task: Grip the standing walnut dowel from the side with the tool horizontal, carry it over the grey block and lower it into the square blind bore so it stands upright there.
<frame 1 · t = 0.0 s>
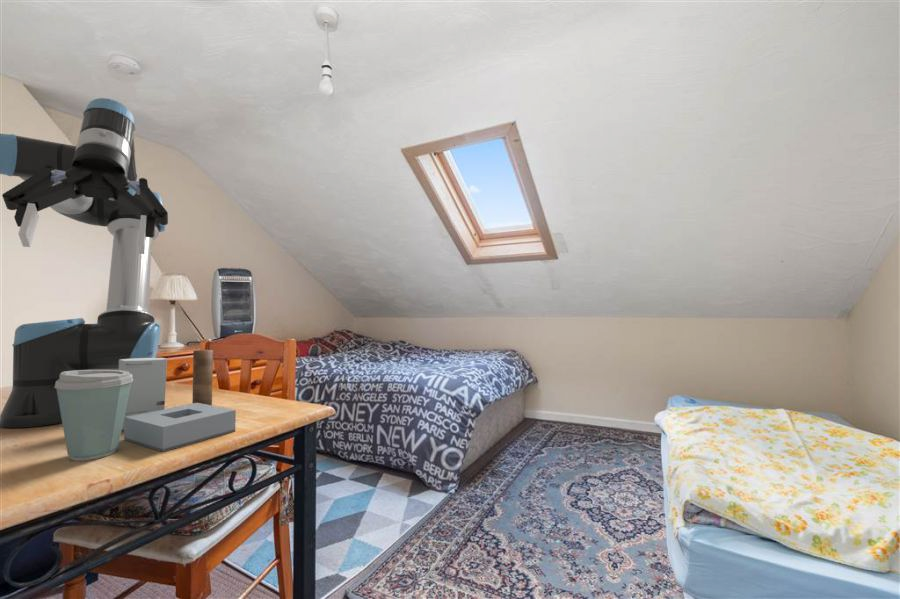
hand: (86, 245, 62), 36 cm above the table, tool tilted 35°, fingers open, 13 cm apart
skincare box: (140, 425, 90), on the table
walnut dowel: (202, 417, 96), on the table
disposable coffee cup: (94, 456, 71), on the table
bore block: (181, 435, 82), on the table
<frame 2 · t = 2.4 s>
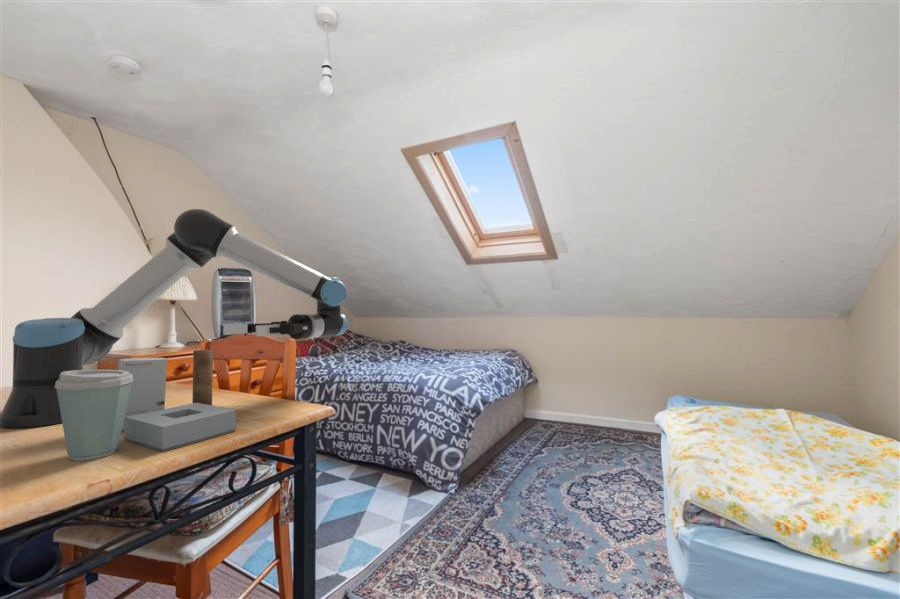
hand: (239, 330, 104), 20 cm above the table, tool horizontal, fingers open, 13 cm apart
nothing on the table moved.
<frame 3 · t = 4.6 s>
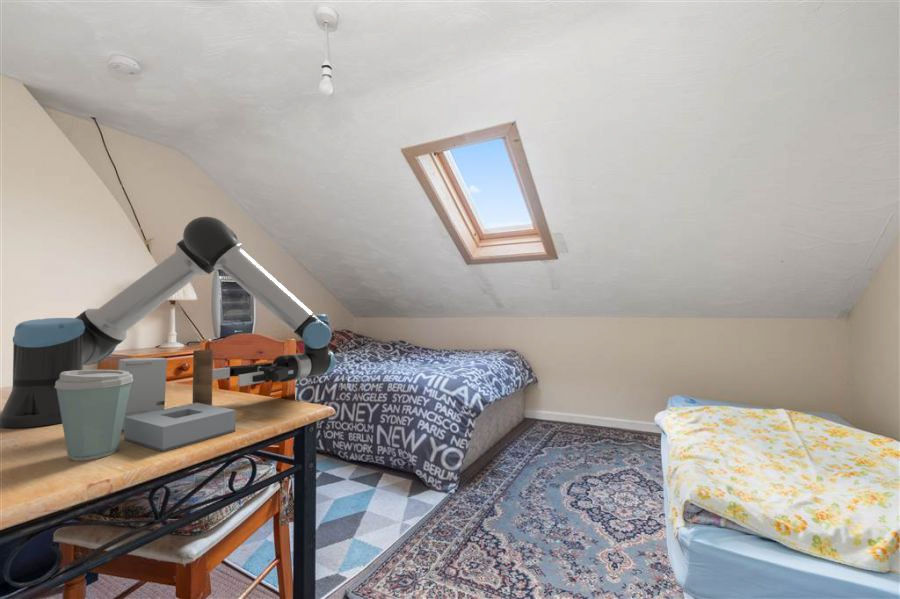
hand: (221, 378, 99), 9 cm above the table, tool horizontal, fingers open, 13 cm apart
nothing on the table moved.
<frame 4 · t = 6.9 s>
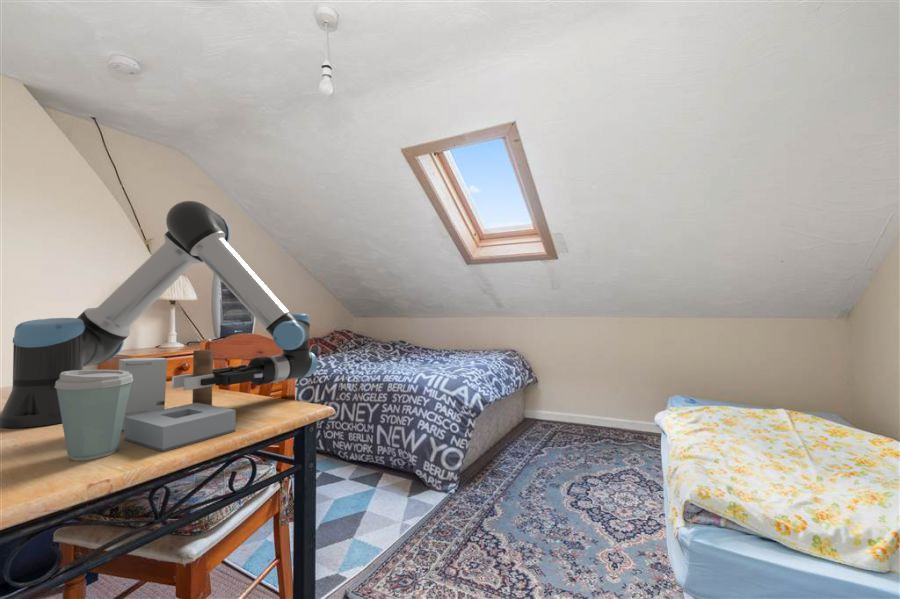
hand: (178, 383, 91), 9 cm above the table, tool horizontal, fingers closed on walnut dowel, 4 cm apart
walnut dowel: (202, 417, 96), on the table, touching gripper
everything else where it was.
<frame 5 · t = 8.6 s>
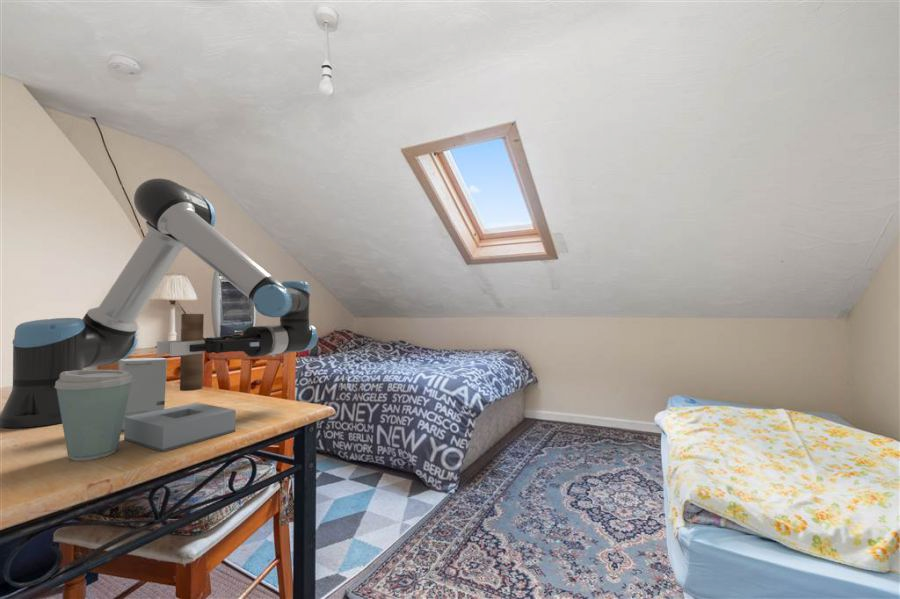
hand: (164, 348, 81), 18 cm above the table, tool horizontal, fingers closed on walnut dowel, 4 cm apart
walnut dowel: (191, 389, 85), point 9 cm above the table, touching gripper
everything else where it was.
when the fingers open (11 cm above the table, at t = 10.7 s): walnut dowel drops 1 cm, resting on bore block.
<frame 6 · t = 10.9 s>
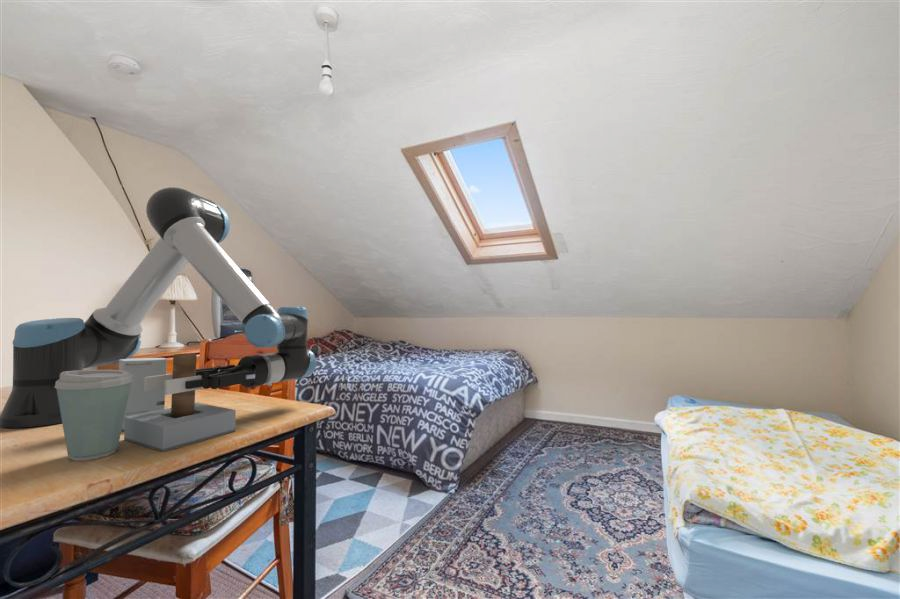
hand: (155, 385, 78), 11 cm above the table, tool horizontal, fingers open, 7 cm apart
walnut dowel: (182, 432, 82), point 1 cm above the table, touching bore block
everything else where it was.
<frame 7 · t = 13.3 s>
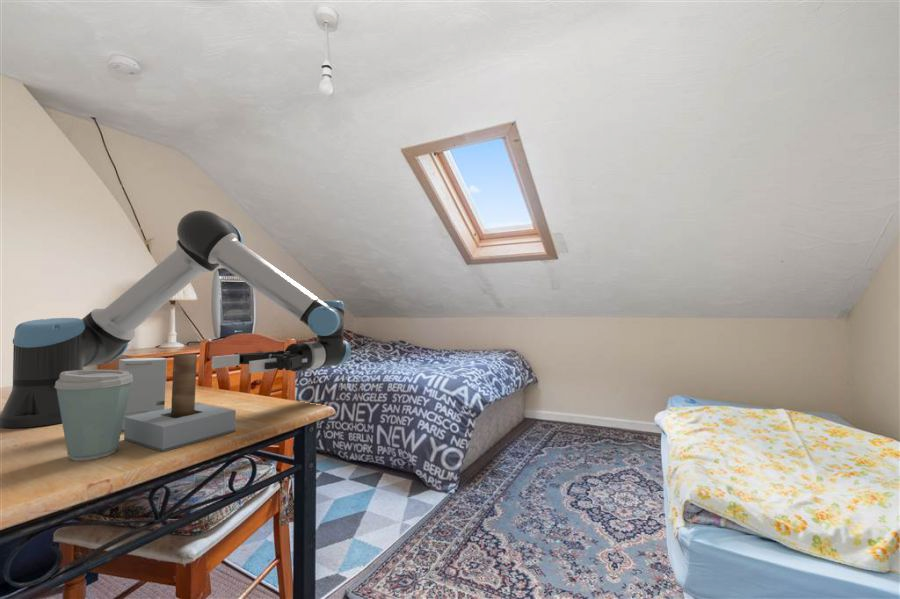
hand: (230, 365, 92), 13 cm above the table, tool horizontal, fingers open, 13 cm apart
nothing on the table moved.
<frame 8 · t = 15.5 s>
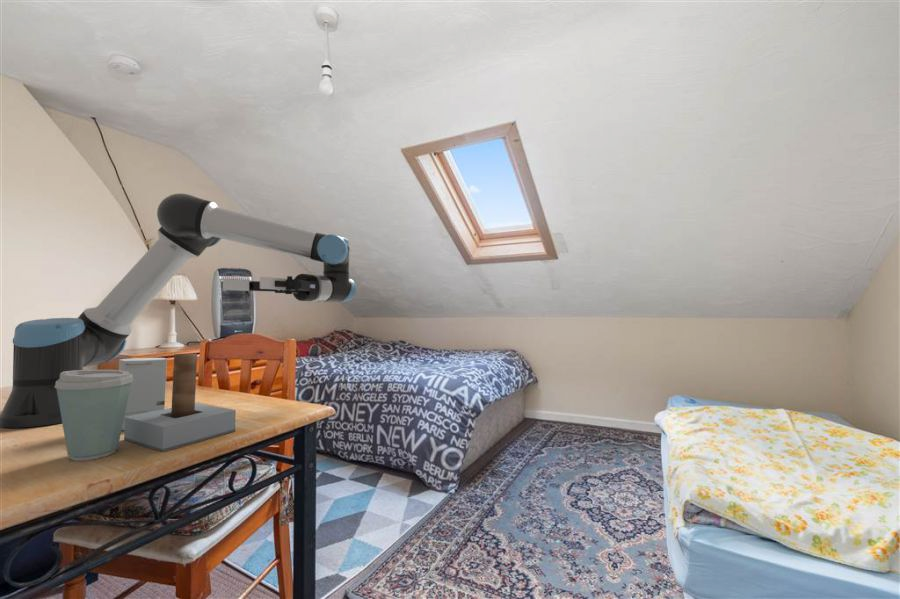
hand: (241, 283, 94), 32 cm above the table, tool horizontal, fingers open, 13 cm apart
nothing on the table moved.
at the end: walnut dowel 0.1 cm off-centre on the bore block, point 0.6 cm above the bore block's base; walnut dowel tilted 2°; the gripper is holding nothing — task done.
